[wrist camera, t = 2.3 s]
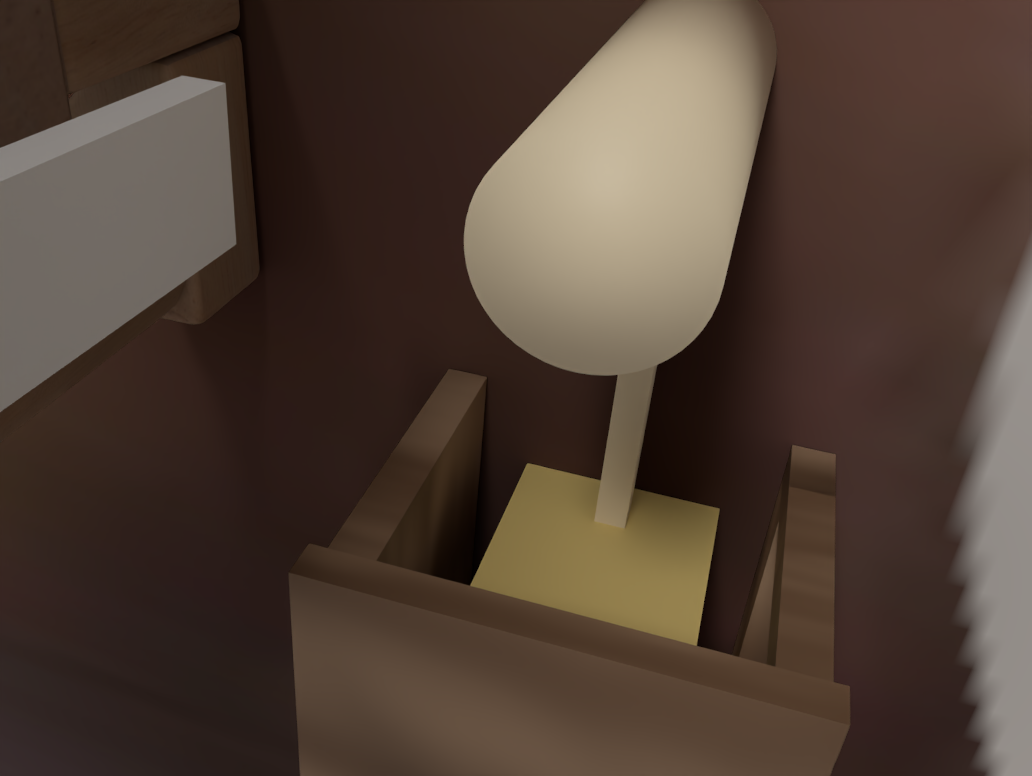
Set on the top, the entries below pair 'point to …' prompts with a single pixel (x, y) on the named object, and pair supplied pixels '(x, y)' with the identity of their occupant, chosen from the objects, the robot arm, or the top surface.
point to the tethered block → (621, 292)
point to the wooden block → (107, 79)
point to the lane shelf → (548, 642)
